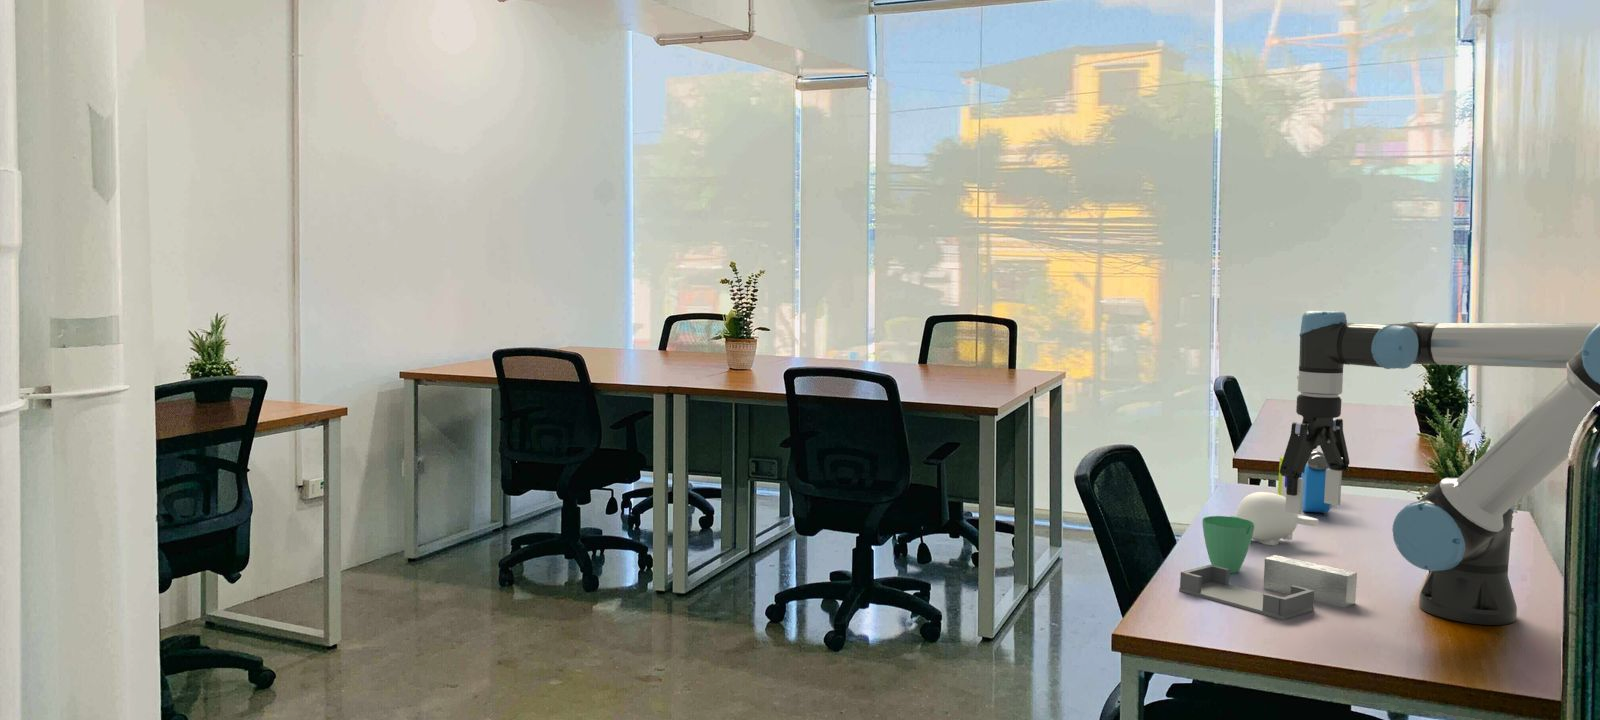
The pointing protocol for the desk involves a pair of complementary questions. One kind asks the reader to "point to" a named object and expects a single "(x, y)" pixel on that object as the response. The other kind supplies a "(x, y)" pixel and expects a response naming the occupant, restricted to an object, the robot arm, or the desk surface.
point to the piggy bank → (1271, 517)
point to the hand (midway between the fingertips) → (1313, 508)
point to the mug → (1227, 540)
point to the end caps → (1244, 593)
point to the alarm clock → (1315, 484)
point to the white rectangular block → (1311, 580)
